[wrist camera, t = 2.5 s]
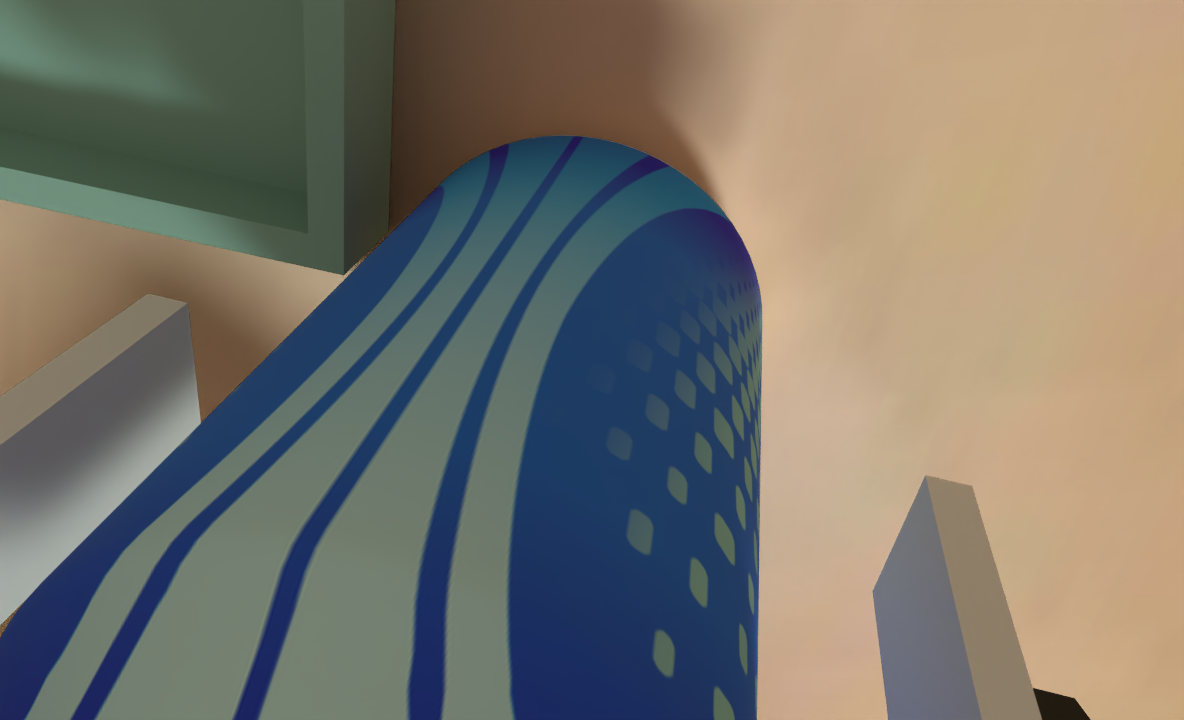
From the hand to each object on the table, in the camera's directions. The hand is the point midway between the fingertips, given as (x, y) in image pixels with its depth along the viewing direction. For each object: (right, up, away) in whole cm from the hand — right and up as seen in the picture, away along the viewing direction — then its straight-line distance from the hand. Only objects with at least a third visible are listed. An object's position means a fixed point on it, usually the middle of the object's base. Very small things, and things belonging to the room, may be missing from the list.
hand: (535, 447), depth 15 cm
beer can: (+1, +3, +6) cm, 7 cm away
